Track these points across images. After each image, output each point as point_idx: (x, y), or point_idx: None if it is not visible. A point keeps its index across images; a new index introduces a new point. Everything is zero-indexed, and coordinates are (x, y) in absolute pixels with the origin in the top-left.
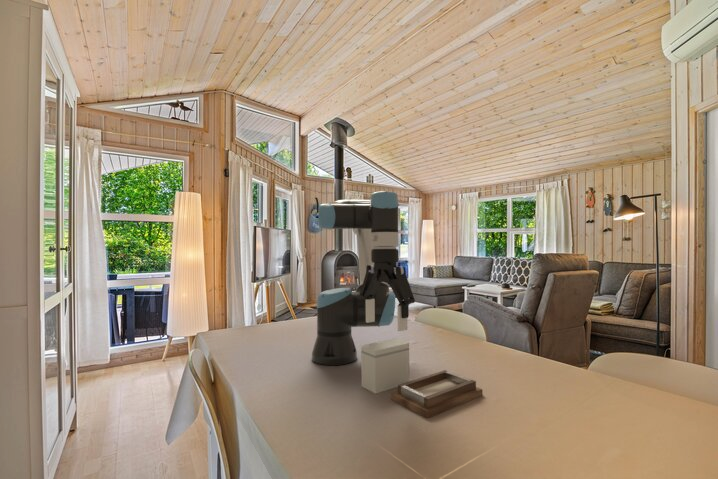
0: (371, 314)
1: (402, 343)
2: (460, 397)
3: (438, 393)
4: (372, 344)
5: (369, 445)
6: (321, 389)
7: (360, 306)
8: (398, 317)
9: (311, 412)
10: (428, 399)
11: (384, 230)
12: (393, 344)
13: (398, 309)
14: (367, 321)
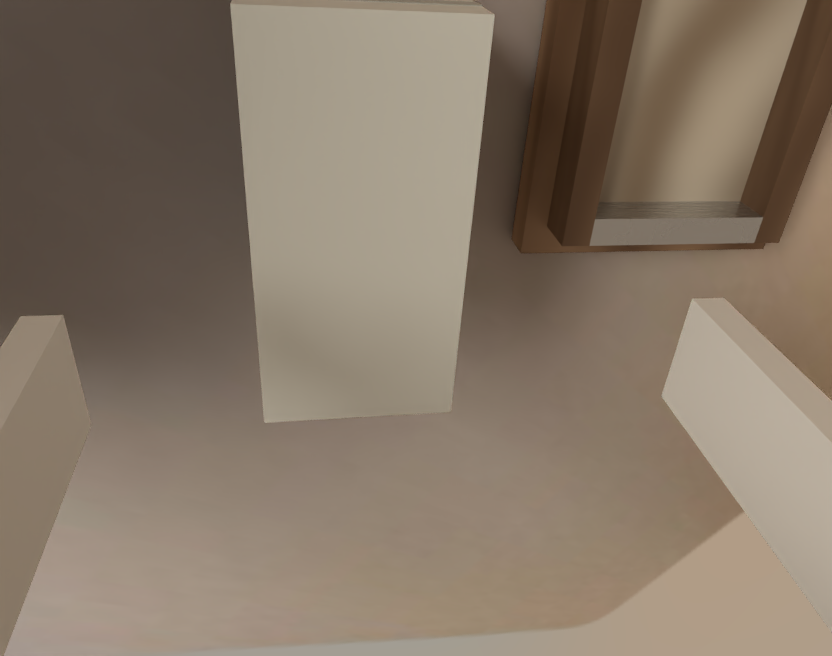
0: (43, 439)
1: (458, 93)
2: None
3: (801, 150)
4: (295, 342)
5: (667, 472)
6: (181, 428)
7: None
8: (754, 503)
9: (371, 524)
10: (778, 237)
11: None
12: (420, 193)
13: (823, 592)
14: (87, 433)
